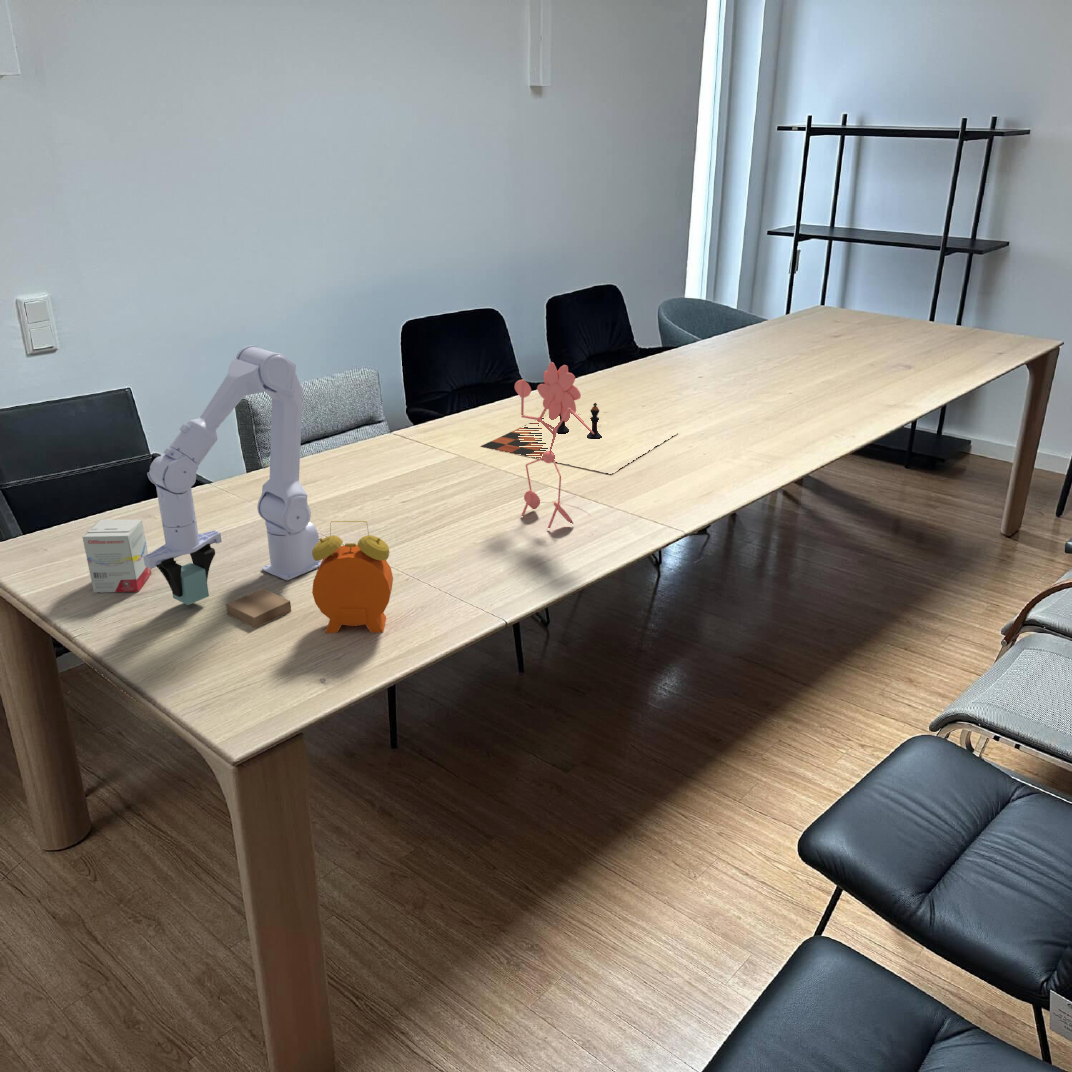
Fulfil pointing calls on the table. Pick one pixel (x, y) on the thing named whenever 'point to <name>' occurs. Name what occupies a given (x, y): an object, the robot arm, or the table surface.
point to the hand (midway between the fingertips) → (190, 589)
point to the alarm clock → (352, 581)
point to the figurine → (558, 401)
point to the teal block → (192, 584)
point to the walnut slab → (258, 607)
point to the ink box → (116, 555)
